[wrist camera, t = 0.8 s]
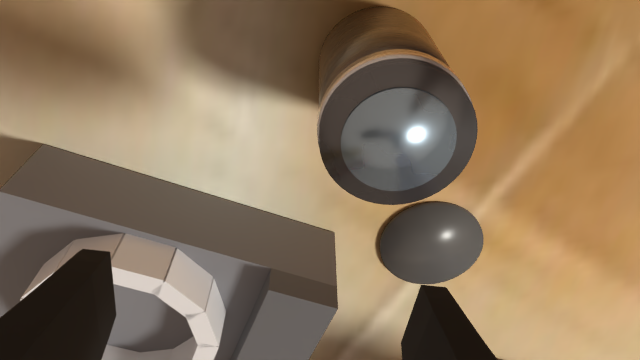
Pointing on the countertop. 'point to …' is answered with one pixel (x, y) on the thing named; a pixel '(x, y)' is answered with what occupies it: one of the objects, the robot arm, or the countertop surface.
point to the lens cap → (431, 243)
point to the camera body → (170, 261)
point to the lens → (391, 109)
